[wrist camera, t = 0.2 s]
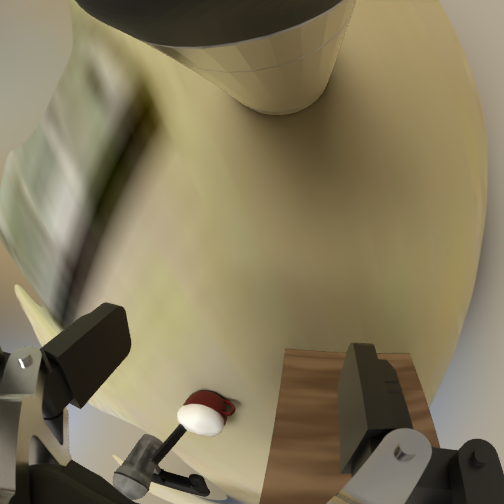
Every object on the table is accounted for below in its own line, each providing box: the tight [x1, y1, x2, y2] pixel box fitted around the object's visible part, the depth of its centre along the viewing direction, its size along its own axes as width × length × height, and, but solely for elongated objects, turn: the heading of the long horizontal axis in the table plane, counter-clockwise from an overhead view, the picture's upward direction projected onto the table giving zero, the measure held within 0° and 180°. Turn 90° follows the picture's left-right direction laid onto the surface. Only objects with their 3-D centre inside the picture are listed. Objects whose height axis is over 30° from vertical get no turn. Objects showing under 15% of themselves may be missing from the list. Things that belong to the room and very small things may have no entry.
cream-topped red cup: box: [150, 390, 235, 465], centre depth 31 cm, size 10×6×12 cm, turn 90°
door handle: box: [150, 465, 210, 497], centre depth 51 cm, size 3×20×16 cm
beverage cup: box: [113, 434, 162, 500], centre depth 36 cm, size 7×7×20 cm
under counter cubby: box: [259, 349, 440, 504], centre depth 23 cm, size 23×15×23 cm, turn 179°
